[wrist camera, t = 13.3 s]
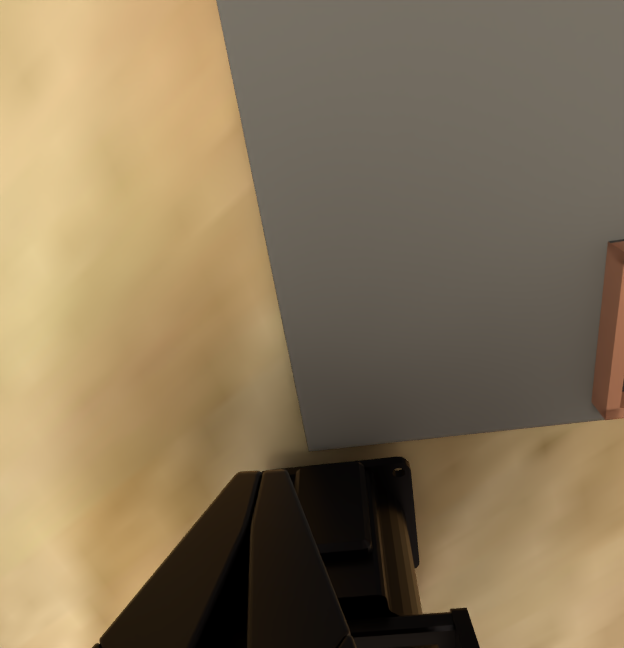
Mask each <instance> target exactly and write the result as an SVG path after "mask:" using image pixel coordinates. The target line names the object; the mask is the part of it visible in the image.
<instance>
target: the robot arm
mask: <svg viewBox="0 0 624 648" xmlns="http://www.w3.org/2000/svg"><path fill="white" fill-rule="evenodd" d="M396 468H402V469H401V470H398V471H397V470H394V469H396ZM418 565H419V553H418V542H417V532H416V521H415V510H414V499H413V489H412V478H411V470H410V465H409V462H408V461H407V460H406V459H405V458H403V457H390V458H380V459H371V460H361V461H352V462H342V463H332V464H323V465H313V466H304V467H294V468H285V469H275V470H266V471H262V472H260V471H243V472H238V473H237V474H236V475H235V476H234V477H233V478H232V480H231V481H230V482H229V483H228V484H227V486H226V487H225V488H224V489H223V490H222V492H221V493H220V494H219V495H218V496H217V498H216V499H215V500H214V501H213V502H212V504H211V505H210V506H209V507H208V508H207V510H206V511H205V512H204V513H203V515H202V516H201V517H200V518H199V519H198V521H197V522H196V523H195V524H194V525H193V527H192V528H191V529H190V530H189V531H188V533H187V534H186V535H185V536H184V537H183V539H182V540H181V541H180V542H179V544H178V545H177V546H176V547H175V548H174V550H173V551H172V552H171V553H170V554H169V556H168V557H167V558H166V559H165V560H164V562H163V563H162V564H161V565H160V566H159V568H158V569H157V570H156V571H155V573H154V574H153V575H152V576H151V577H150V579H149V580H148V581H147V582H146V583H145V585H144V586H143V587H142V588H141V589H140V591H139V592H138V593H137V594H136V595H135V597H134V598H133V599H132V600H131V602H130V603H129V604H128V605H127V606H126V608H125V609H124V610H123V611H122V612H121V614H120V615H119V616H118V617H117V618H116V620H115V621H114V622H113V623H112V624H111V626H110V627H109V628H108V629H107V631H106V632H105V633H104V634H103V635H102V637H101V638H100V644H99V643H96V644H95V645H94V646H93V647H92V648H480V647H479V644H478V641H477V638H476V635H475V632H474V629H473V626H472V623H471V620H470V617H469V614H468V611H467V608H456V609H450V612H443V613H430V614H422V609H421V603H420V597H419V592H418V586H417V580H416V574H415V568H417V566H418Z"/></svg>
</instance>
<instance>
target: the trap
mask: <svg viewBox="0 0 624 648" xmlns="http://www.w3.org/2000/svg"><path fill="white" fill-rule="evenodd" d="M591 402H592V404H593V405H594V406H595V407H596V409H597V410H598V411H599V413H600V414H601V415H602V417H603V418H604V419H605V420H611V419H620V418H624V239H621V240H614V241H608V246H607V256H606V265H605V275H604V285H603V294H602V304H601V314H600V323H599V333H598V343H597V352H596V362H595V372H594V382H593V391H592V401H591Z"/></svg>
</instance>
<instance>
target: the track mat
mask: <svg viewBox="0 0 624 648" xmlns="http://www.w3.org/2000/svg"><path fill="white" fill-rule="evenodd" d="M216 1H217V6H218V10H219V15H220V20H221V25H222V30H223V35H224V40H225V45H226V50H227V54H228V59H229V64H230V69H231V74H232V79H233V84H234V89H235V93H236V98H237V103H238V108H239V113H240V118H241V123H242V128H243V133H244V137H245V142H246V147H247V152H248V157H249V162H250V167H251V172H252V177H253V181H254V186H255V191H256V196H257V201H258V206H259V211H260V216H261V220H262V225H263V230H264V235H265V240H266V245H267V250H268V255H269V260H270V264H271V269H272V274H273V279H274V284H275V289H276V294H277V299H278V304H279V308H280V313H281V318H282V323H283V328H284V333H285V338H286V343H287V347H288V352H289V357H290V362H291V367H292V372H293V377H294V382H295V387H296V391H297V396H298V401H299V406H300V411H301V416H302V421H303V426H304V430H305V435H306V440H307V445H308V450H309V451H318V450H327V449H337V448H346V447H355V446H364V445H374V444H383V443H392V442H402V441H411V440H420V439H430V438H439V437H448V436H458V435H467V434H476V433H485V432H495V431H504V430H513V429H523V428H532V427H541V426H551V425H560V424H569V423H579V422H588V421H597V420H605V419H604V418H603V417H602V415H601V414H600V413H599V411H598V410H597V409H596V407H595V406H594V405H593V404H592V402H591V401H592V391H593V382H594V372H595V362H596V352H597V343H598V333H599V323H600V314H601V304H602V294H603V285H604V275H605V265H606V256H607V246H608V241H614V240H621V239H624V0H216Z"/></svg>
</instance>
